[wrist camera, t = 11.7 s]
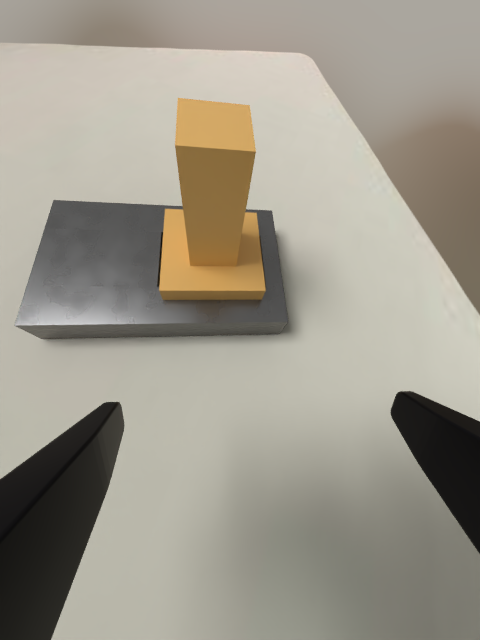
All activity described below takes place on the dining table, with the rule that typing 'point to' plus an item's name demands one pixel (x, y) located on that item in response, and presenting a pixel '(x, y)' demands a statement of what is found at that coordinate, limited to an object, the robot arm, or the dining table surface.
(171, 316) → the grey metal plate
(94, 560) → the dining table surface
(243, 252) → the orange post
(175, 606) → the dining table surface
